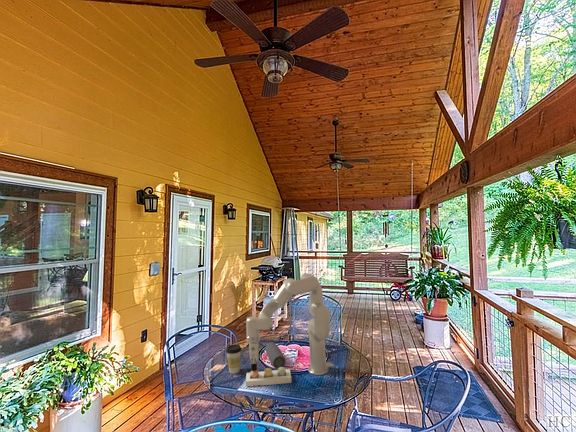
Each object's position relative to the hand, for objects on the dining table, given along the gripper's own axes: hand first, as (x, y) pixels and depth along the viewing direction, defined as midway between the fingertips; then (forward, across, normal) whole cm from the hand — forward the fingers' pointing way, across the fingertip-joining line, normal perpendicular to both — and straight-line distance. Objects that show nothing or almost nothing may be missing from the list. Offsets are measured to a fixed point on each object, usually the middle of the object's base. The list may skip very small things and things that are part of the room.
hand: (254, 370), depth 176 cm
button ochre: (+4, 0, -8) cm, 9 cm away
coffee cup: (+7, +14, +13) cm, 21 cm away
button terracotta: (+4, 0, 0) cm, 4 cm away
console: (+7, 0, -8) cm, 11 cm away
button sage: (+4, 0, -16) cm, 16 cm away
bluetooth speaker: (+7, +20, -13) cm, 25 cm away
